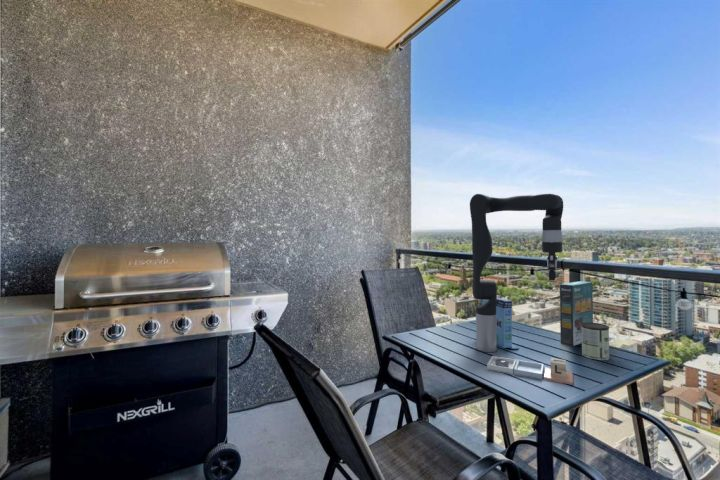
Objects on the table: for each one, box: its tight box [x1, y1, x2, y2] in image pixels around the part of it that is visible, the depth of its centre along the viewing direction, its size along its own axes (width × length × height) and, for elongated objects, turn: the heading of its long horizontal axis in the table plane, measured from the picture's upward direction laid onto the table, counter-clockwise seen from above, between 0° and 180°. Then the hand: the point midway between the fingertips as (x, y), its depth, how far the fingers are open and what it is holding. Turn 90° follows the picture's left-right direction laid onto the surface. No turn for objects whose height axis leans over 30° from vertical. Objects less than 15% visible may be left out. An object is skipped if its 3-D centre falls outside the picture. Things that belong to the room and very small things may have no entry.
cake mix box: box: [559, 280, 594, 347], centre depth 174 cm, size 22×6×30 cm, turn 123°
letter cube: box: [550, 357, 567, 378], centre depth 128 cm, size 5×5×5 cm
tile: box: [543, 367, 574, 386], centre depth 128 cm, size 11×9×1 cm
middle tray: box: [513, 359, 545, 381], centre depth 133 cm, size 12×10×2 cm
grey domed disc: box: [496, 359, 509, 367], centre depth 138 cm, size 5×5×2 cm
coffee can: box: [581, 322, 610, 361], centre depth 150 cm, size 10×10×14 cm
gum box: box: [480, 296, 513, 349], centre depth 173 cm, size 20×5×23 cm, turn 13°
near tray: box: [486, 355, 518, 375], centre depth 138 cm, size 12×10×2 cm
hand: (552, 279), depth 142 cm, fingers open, 8 cm apart
